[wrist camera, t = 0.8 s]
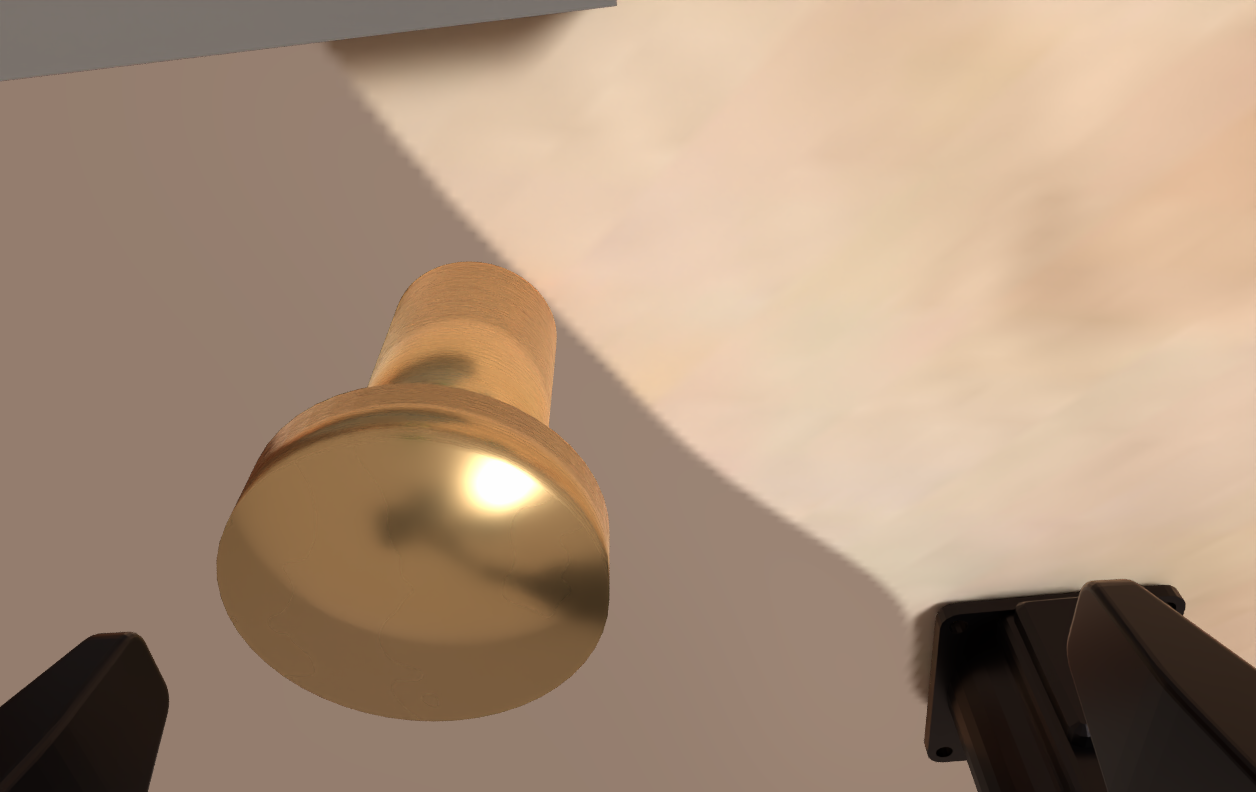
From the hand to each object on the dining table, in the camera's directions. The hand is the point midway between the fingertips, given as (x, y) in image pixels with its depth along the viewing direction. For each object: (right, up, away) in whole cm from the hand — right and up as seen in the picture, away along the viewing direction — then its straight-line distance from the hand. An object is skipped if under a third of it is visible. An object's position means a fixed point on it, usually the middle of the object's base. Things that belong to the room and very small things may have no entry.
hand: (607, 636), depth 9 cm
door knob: (-3, +4, +12) cm, 13 cm away
